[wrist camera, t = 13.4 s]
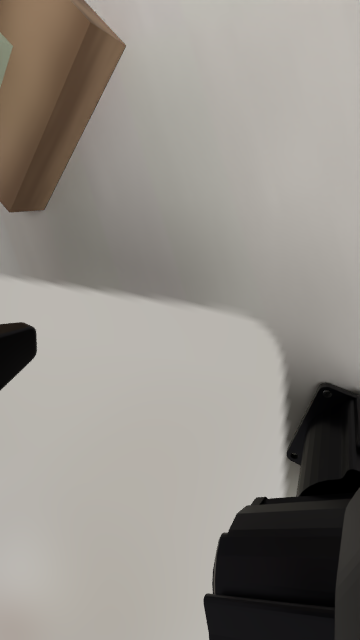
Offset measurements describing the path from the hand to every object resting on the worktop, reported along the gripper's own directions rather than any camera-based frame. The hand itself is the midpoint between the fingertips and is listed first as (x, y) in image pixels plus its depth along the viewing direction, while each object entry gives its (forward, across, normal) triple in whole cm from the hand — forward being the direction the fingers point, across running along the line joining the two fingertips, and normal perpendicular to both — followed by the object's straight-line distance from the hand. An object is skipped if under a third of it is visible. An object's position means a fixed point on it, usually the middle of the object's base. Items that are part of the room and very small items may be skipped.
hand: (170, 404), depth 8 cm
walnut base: (+13, +20, -8) cm, 25 cm away
